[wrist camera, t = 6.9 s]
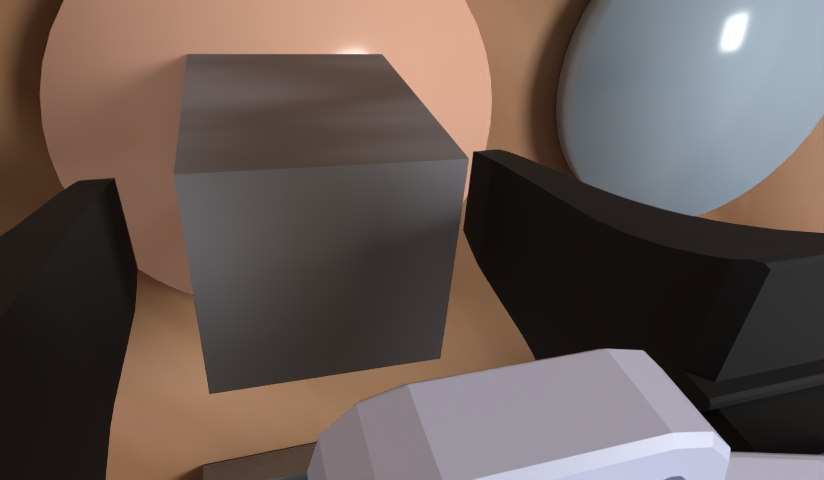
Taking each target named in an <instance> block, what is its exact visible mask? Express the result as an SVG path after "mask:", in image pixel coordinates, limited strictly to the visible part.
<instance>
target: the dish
mask: <svg viewBox="0 0 824 480" xmlns="http://www.w3.org/2000/svg"><path fill="white" fill-rule="evenodd" d="M187 54H382V55H383V56H384V57H385V58H386V59H387V61H388V62H389V63H390V64H391V65H392V67H393V68H394V69H395V70H396V71H397V73H398V74H399V75H400V76H401V77H402V79H403V80H404V81H405V82H406V83H407V85H408V86H409V87H410V88H411V89H412V91H413V92H414V93H415V94H416V95H417V97H418V98H419V99H420V100H421V101H422V103H423V104H424V105H425V106H426V107H427V109H428V110H429V111H430V112H431V113H432V115H433V116H434V117H435V118H436V119H437V121H438V122H439V123H440V124H441V126H442V127H443V128H444V129H445V130H446V132H447V133H448V134H449V135H450V136H451V138H452V139H453V140H454V141H455V142H456V144H457V145H458V146H459V147H460V148H461V150H462V151H463V152H464V153H465V154H466V156H467V157H468V158H469V163H468V170H467V177H466V184H465V191H464V198H463V201H464V200H465V198H466V196H467V195H468V189H469V181H470V173H471V165H472V157H473V151H485V149H486V144H487V139H488V135H489V130H490V120H491V107H492V96H491V77H490V72H489V66H488V61H487V56H486V51H485V48H484V45H483V42H482V39H481V36H480V33H479V30H478V26H477V24H476V22H475V20H474V18H473V16H472V14H471V12H470V10H469V8H468V6H467V4H466V2H465V0H64V1H63V3H62V5H61V8H60V10H59V12H58V14H57V17H56V19H55V21H54V23H53V26H52V28H51V30H50V34H49V38H48V42H47V46H46V50H45V54H44V58H43V62H42V72H41V84H40V104H41V117H42V127H43V131H44V135H45V139H46V143H47V148H48V152H49V155H50V158H51V160H52V163H53V165H54V168H55V170H56V173H57V175H58V178H59V180H60V183H61V184H62V186H63V188H64V189H66V188H67V187H69V186H70V185H72V184H73V183H75V182H77V181H79V180H92V179H106V178H115V181H116V185H117V189H118V193H119V197H120V201H121V204H122V208H123V212H124V216H125V220H126V224H127V228H128V232H129V236H130V239H131V243H132V247H133V251H134V255H135V259H136V263H137V268H138V269H139V270H141V271H142V272H144V273H146V274H147V275H149V276H151V277H152V278H154V279H156V280H158V281H160V282H162V283H164V284H166V285H169V286H171V287H173V288H175V289H177V290H180V291H182V292H185V293H188V294H191V295H193V290H192V284H191V278H190V272H189V266H188V260H187V254H186V248H185V241H184V235H183V229H182V223H181V217H180V211H179V205H178V199H177V193H176V187H175V181H174V166H175V157H176V149H177V140H178V131H179V122H180V113H181V105H182V96H183V87H184V78H185V69H186V61H187Z"/></svg>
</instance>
